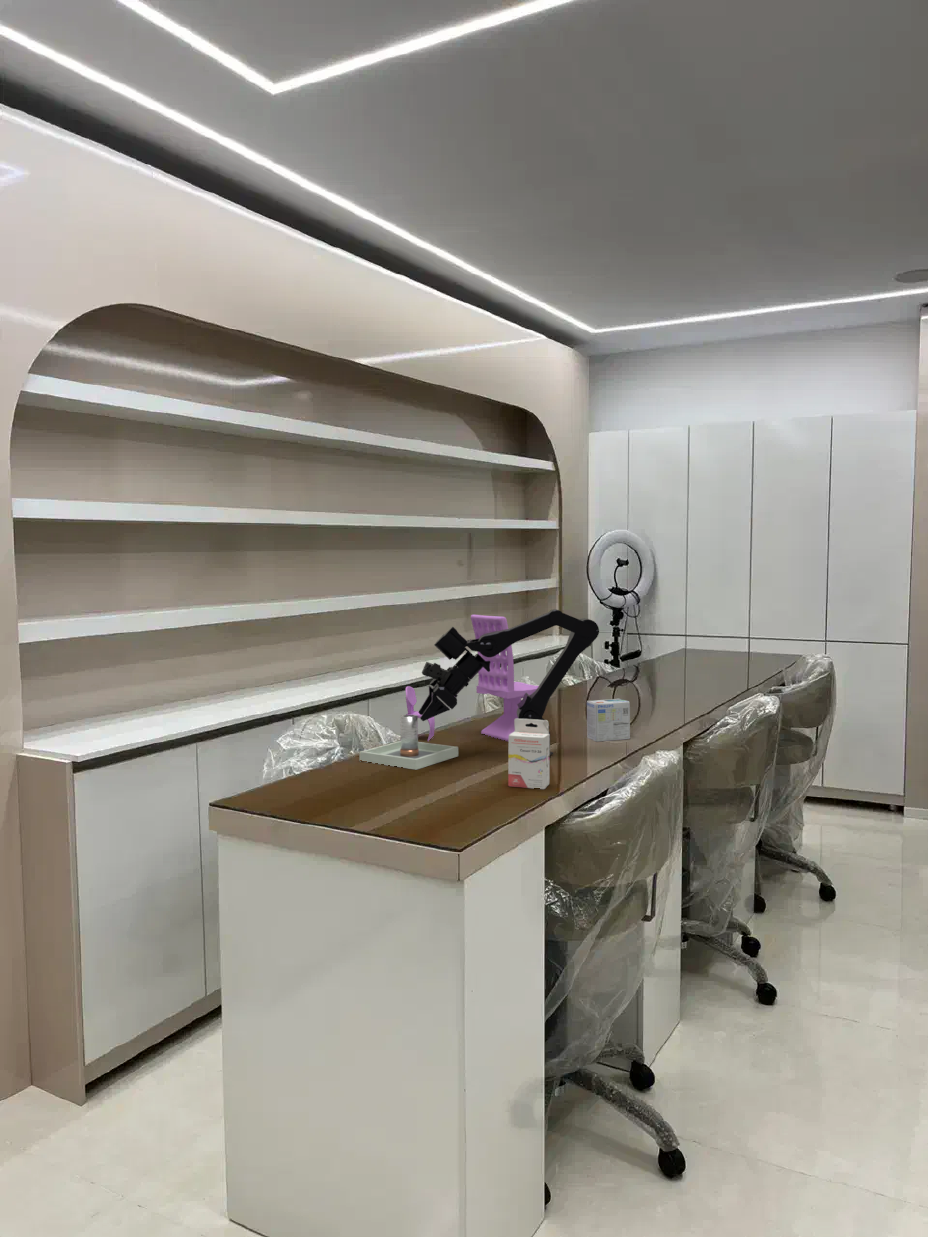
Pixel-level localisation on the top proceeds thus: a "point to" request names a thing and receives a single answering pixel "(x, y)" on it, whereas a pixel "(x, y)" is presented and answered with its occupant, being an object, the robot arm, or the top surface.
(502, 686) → the earring display
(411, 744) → the metal sleeve
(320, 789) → the top surface
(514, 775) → the ink cartridge box
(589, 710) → the light bulb box
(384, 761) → the sage tray
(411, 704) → the toy chair
